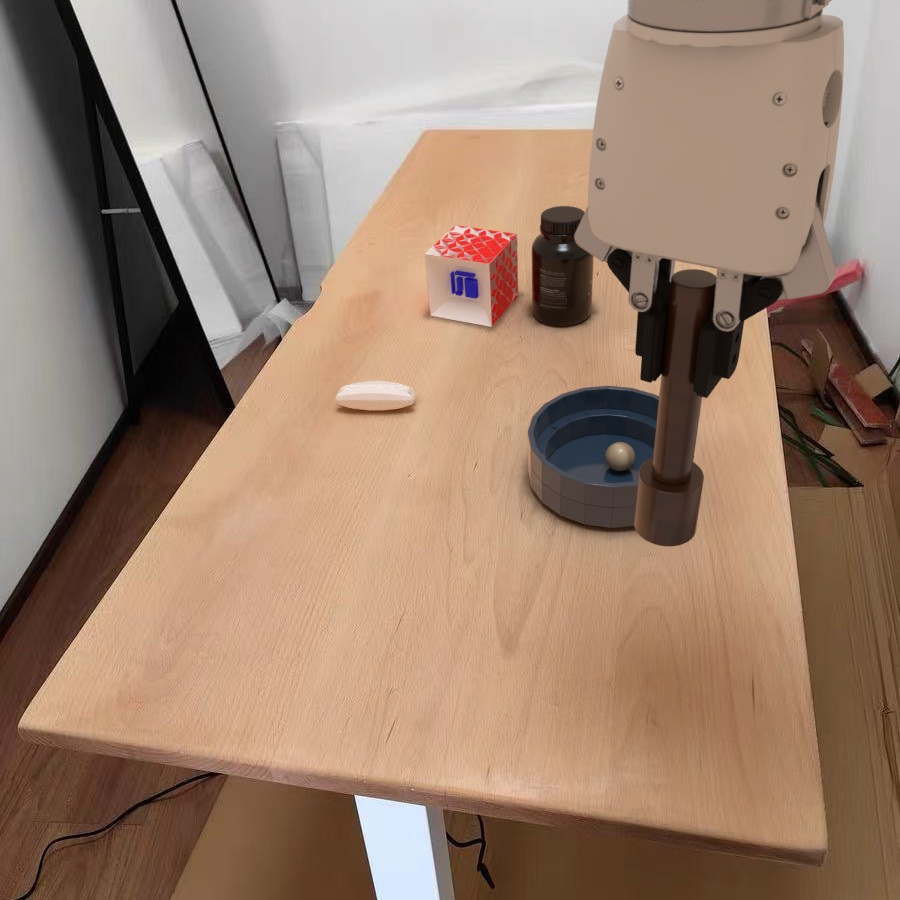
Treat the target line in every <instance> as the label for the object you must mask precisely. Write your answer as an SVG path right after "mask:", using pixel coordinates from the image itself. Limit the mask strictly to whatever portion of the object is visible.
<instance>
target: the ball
mask: <svg viewBox="0 0 900 900" xmlns="http://www.w3.org/2000/svg"><path fill="white" fill-rule="evenodd" d="M605 460H606V463H607V465H608V466H609V467H610V468H611V469H613V470H615V471H625V470H627V469H629V468H630V467H631V466H632V465H633V463H634V461H635V453H634V450H633V448H632V447H631V446H630V445H628V444H627V443H624V442H616V443H613V444H612V445H610V446H609V447H608V449H607V450H606V453H605Z"/></svg>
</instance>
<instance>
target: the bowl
mask: <svg viewBox="0 0 900 900" xmlns="http://www.w3.org/2000/svg"><path fill="white" fill-rule="evenodd" d="M658 403H659V395H657V394H655V393H652V392H648V391H644V390H641V389H637V388H634V387H626V386H615V385H600V386H587V387H581V388H577V389H574V390H571V391H567V392H564V393H561V394H559V395H557V396H555V397H554V398H552V399H550V400H548V401H546V402H545V403H543V404H542V406H540V408H539V409H538V410H536V412H535V413H534V414H533V415H532V417H531V419H530V423H529V426H528V429H527V474H528V478H529V484H530V488H531V489H532V491H533V492H534V494H535V495H536V496H537V498H538V499H539V501H540V502H541V503H542V504H543V505H545V506H546V507H547V508H549V509H551V511H554V512H555V513H556V514H557V515H559V516H561V517H562V518H566V519H569V520H570V521H571V520H572V521H573V522H577V523H579V524H583V525H586V526H594V527H602V528H610V529H613V528H614V529H615V528H626V527H635V526H634V519H635V508H636V497H637V486H638V475H639V469H640V467H641V465H642V464H643V463H644V462H645V461H646V460H648V459H650V458H652V457H653V452H654V442H655V432H656V422H657V413H658ZM616 442H624V443H627V444H628V445H630V446H631V447H632V448H633V450H634V453H635V461H634V463H633V465H632V466H631V467H630V468H629V469H627V470H625V471H615V470H613V469H611V468H610V467H609V466H608V465H607V463H606V460H605V453H606V450H607V449H608V447H609V446H610V445H612V444H613V443H616Z"/></svg>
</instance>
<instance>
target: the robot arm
mask: <svg viewBox="0 0 900 900" xmlns="http://www.w3.org/2000/svg"><path fill="white" fill-rule="evenodd" d="M831 1H833V0H627V9H626V10H627V11H626V12H627V13H626V14H625V15H623V16H622V17H621V18H619V19H617V20H616V21H615V22H614V23H613V27H612V30H611V34H610V38H609V42H608V46H607V50H606V55H605V59H604V64H603V69H602V72H601V79H600V84H599V88H598V89H599V90H598V95H597V101H596V106H595V114H594V121H593V129H592V136H591V147H590V156H589V171H588V172H589V173H588V186H587V188H588V189H587V207H586V209H585V211H584V215H583V217H582V219H581V222H580V224H579V226H578V228H577V230H576V232H575V235H574V240H575V242H576V244H577V245H578V246H579V247H581V248H582V249H584V250H585V251H587V252H588V253H590V254H591V255H593V256H594V258H596V259H597V260H599V261H600V262H601V263H606V264H607V267H608V269H609V270H610V271H611V272H612V274H613V275H614V276H615V278H616V279H617V280H618V281H619V283H620V284H621V285H622V287H623V288H624V289H625V290H626V291H627V293H628V304H629V305H630V307H631V308H632V309H633V310H634V311H636V312H637V316H636V317H637V318H636V319H637V320H636V333H635V351H634V352H635V353H634V354H635V355H636V356H637V357H641V363H640V376H639V377H640V381H642V382H646V383H650V384H651V383H653V382H656V381H657V380H658V379H659V378H660V377H661V374H662V364H663V354H664V345H665V335H666V325H667V315H668V306H669V296H670V286H671V278H672V276H673V274H675V267H676V266H675V265H676V262H681V263H686V264H690V265H696V266H701V267H706V268H711V269H716V288H715V299H714V309H713V310H712V311H711V315H710V318H709V319H708V321H707V322H706V323H705V324H704V326H703V327H702V328H701V331H700V335H699V344H698V353H697V362H696V370H695V379H694V388H693V392H696V395H697V396H700V397H702V398H704V399H707V398H709V396H710V395H711V393H712V392H713V391H714V389H715V388H716V386H718V384H719V383H720V381H721V380H722V378H723V379H727V380H729V379H731V378H732V376H733V374H734V373H735V371H736V369H737V366H738V363H739V359H740V353H741V345H742V340H743V339H742V338H743V333H744V325H745V322H746V320H748V319H750V318H752V317H753V316H755V315H757V314H759V313H760V312H762V311H763V310H765V309H767V308H768V307H770V306H772V305H774V304H775V303H776V302H777V301H778V302H779V301H784V300H786V301H791V300H796V299H801V298H808V297H813V296H820V295H822V294H825V293H826V292H828V289H829V288H830V286H831V285H832V283H833V282H834V280H835V279H836V276H837V270H836V265H835V262H834V257H833V255H832V250H831V248H830V243H829V240H828V237H827V232H826V229H825V222H826V219H827V215H828V211H829V206H830V201H831V193H832V188H833V181H834V174H835V166H836V158H837V149H838V140H839V135H840V134H839V132H840V124H841V122H840V121H841V113H842V103H843V102H842V101H843V88H844V67H845V65H844V64H845V35H844V32H845V31H844V21H843V19H841V18H840V17H838V16H835V15H830V14H823V13H824V12H823V11H824V8H826V7H827V6H828V5H830V2H831Z"/></svg>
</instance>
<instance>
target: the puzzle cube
mask: <svg viewBox="0 0 900 900" xmlns="http://www.w3.org/2000/svg"><path fill="white" fill-rule="evenodd" d="M518 253H519V252H518V234H517V233H513V232H507V231H499V230H492V229H484V228H479V227H471V226H464V225H457V224H455V225H454V226H453V227H452V228H451V229H449V230H448V231H447V232H446V233H445V234H444V235H443V236H442V237H441V238H440V239H439V240H438V241H436V243H434V245H432V246H431V247H430V248H429V249H428V250H427V251H426V252H425V253H424V263H425V272H426V284H427V295H428V306H429V315H430V316H431V317H436V318H440V319H446V320H453V321H456V322H462V323H468V324H473V325H477V326H478V325H479V326H483V327H489V328H493V327H494V326H495V324H496V323H497V322H498V321H499V319H500V318H501V317H502V316H503V315H504V314H505V312H507V310H508V309H509V307H510V306H511V305H512V304H513V303H514V302H515V300H516V299H517V298H518V297H519V268H518V267H519V261H518V260H519V259H518V258H519V256H518Z"/></svg>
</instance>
